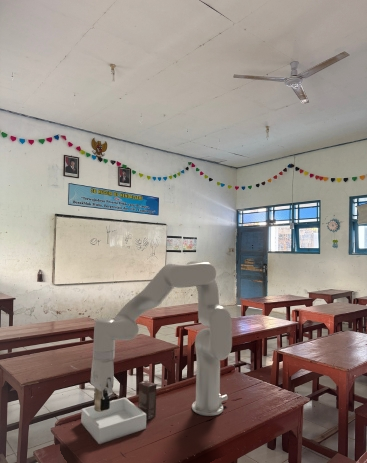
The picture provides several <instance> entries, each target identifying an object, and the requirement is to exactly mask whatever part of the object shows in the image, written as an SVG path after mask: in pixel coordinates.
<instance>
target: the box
mask: <svg viewBox="0 0 367 463" xmlns="http://www.w3.org/2000/svg"><path fill="white" fill-rule="evenodd" d="M137 400H138V404H137V405H138V406H137V407H138V408H139V409H140V410H142V411H143V412H144V413H146V420H151V419H152V418H154V417H156V415H157V414H156V413H157V412H156V410H157V383H154V382H151V381H149V380H143V381H141V382H139V383H138V399H137Z"/></svg>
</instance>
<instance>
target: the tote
mask: <svg viewBox="0 0 367 463" xmlns="http://www.w3.org/2000/svg"><path fill="white" fill-rule="evenodd" d="M80 419H81V420H80V423H81V424H82V426H83V427H84V428H85V429H86V430H87V432H88V433H89V434H90V435H91V437H92V438H93V439H94V440H95V442H96V443H97V444H98V445H101V444H104V443H107V442H108V443H109V442H110V441H114V440H116V439H120V438H122V437H125V436H128V435H130V434H134V433H138V432H140V431H143V430H146V429H147V419H146V413H144V412H143V411H142V410H140V409H139V408H138V406H137V405H136V404H135V403H133V402H131V401H130V400H129V399H128V398H127V397H122V398H117V399H113V400H110V408H109V409H108V410H107V411H104V412H97V411H95V410H94V405H91V406H88V407H84V408H81V418H80Z"/></svg>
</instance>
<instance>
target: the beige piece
mask: <svg viewBox="0 0 367 463" xmlns="http://www.w3.org/2000/svg"><path fill="white" fill-rule="evenodd" d="M106 388H107V387H105V389H106ZM106 392H107V391H104V394H105V393H106ZM94 393H95V404H94V405H93V406H94V410H95V411H97V412H104V411H107V410H108V409H107V410H103V411H101V410H100V405H101V399H102V392H101V391H99V390H98V389H97V388H95V392H94Z"/></svg>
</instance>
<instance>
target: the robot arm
mask: <svg viewBox="0 0 367 463" xmlns="http://www.w3.org/2000/svg"><path fill="white" fill-rule="evenodd" d="M216 276H217V270H216V268H215V266H214V265H213V264H212V263H210V262H206V261H205V262H204V261H200V260H199V261H197V260H192V261H189V262H188V263H186V264H176V263H175V264H173V263H167V264H165V265H164V266H162V268H160V270H159V271H158V272H157V273H156V274H155V276H154V277H153V278H152V279H150V281H149V283H147V285H146V286H145V287H144V288H143V289H142V290H141V291H140V292H139V293H138V294H137V295H135V296H134V297H132V298H131V299H130V300H129V301H127V303H126V304H125V305H124V306H123V307H122V308H121V309H120V310H119V312H117V314H116V315H115V317H114V318H110V317H109V318H107V317H106V318H99V319H96V320H95V322H94V327H93V328H94V329H93V330H94V331H93V344H92V345H93V346H92V347H93V349H92V363H91V371H90V383H91V385H92V386H93V387H94V388H93V392H94V394H93V396H94V398H93V404H94V405H95V388H97V389H98V390H99V391H101V392H102V399H101V405H100V410H101V411H103V410H107V409H109V408H110V401H111V397H112V395H113V393H114V391H113V387H114V380H115V377H114V376H115V375H114V373H115V372H114V370H115V369H114V359H115V356H116V355H115V354H116V352H115V350H116V349H115V348H116V340H117V341H131V340H134V339H135V338H136V337H137V336H138V335H139V328H140V327H139V326H138V324H137V322H136V321H137V319H139V317H141V316H142V315H143V314H144V313H145V312H147V311H149V310H152V309H155V308H157V307H159V306H161V304H162V303H163V301H164V300H165V299H166V298H167V296H168V295H169V294H170V293H171V292H172V291H173V289H174V288H177V289H183V288H193V287H196V290H197V316H198V317H197V318H198V321H199V323H200V324H202V325H203V326H205V327H207V328H203V329H200V330H199V331H198V332H197V333H196V336H195V339H194V346H195V355H196V373H195V374H196V375H195V376H196V378H195V380H196V382H195V401H193V403H192V404H191V408H192V411H193V412H195V413H196V414H198V415H200V416H206V417H209V416H210V417H211V416H212V417H213V416H218V415H220V414H222V412H224V405H223V404H222V403H224V402H225V401H227V400H228V399H229V396H228V395H227V394H224V395H221V392H220V388H221V382H220V381H221V379H220V378H221V361H223V360H226V359H227V358H228V357H229V356H230V353H231V351H232V347H233V346H232V345H233V332H232V330H233V328H232V327H233V323H232V322H233V321H232V317H231V313H230V312H229V310H228V309H227V307H224V306H222V305H220V297H219V294H220V293H219V287H218V283H217V281H216ZM105 387H107V388H106V389H105ZM104 391H107V392H106V393H105V394H104Z"/></svg>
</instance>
